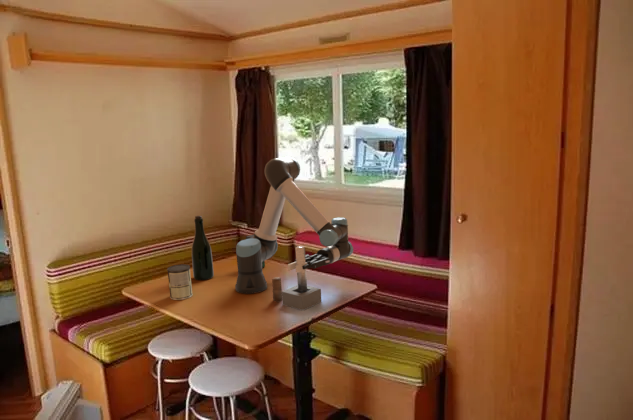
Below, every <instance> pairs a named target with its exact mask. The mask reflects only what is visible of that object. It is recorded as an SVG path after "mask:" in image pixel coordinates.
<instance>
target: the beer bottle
mask: <svg viewBox="0 0 633 420" xmlns="http://www.w3.org/2000/svg"><path fill="white" fill-rule="evenodd" d="M193 223H194V237H193V241H192V244H191V260H192V261H191V262H192V264H191V265H192V276H193V279H194V280H196V281H207V280H211V279H213V277H214V276H215V275H214V274H215V273H214V261H213V254H212V252H213V251H212V247H211V244H210V242H209V240H208V237H207V235H206V232H205V227H204V218H203V217H202V215H195V216H194V221H193Z"/></svg>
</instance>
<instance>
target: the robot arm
mask: <svg viewBox="0 0 633 420" xmlns="http://www.w3.org/2000/svg"><path fill="white" fill-rule="evenodd" d="M300 173H301V166H300V164H299V162H298V161H297V159H295V157H292V156H287V155H286V156H281V157H277V158H272V159H270V160H269V161H267V163H266V164H265V167H264V176H265V179H266V180H267V182H268V183H269V185H270V187H269V192H268V195H267V198H266V202H265V206H264V210H263V213H262V216H261V221H260V224H259V227H258V229H256V230H255V231H254V234H253V235H254V236H253V238H250V239H246V238H245V239H241V240H240V241H239V242H237V244H236V247H235V248H236V250H235V254H236V262H237V263H236V264H237V277H236V283H235V285H234V286H235V291H236V292H237V293H239V294H245V295H246V294H247V295H248V294H249V295H250V294H257V293H261V292H264V291H265V290H267V288H268V283H267V280H266V278H265V275H264V273H263V268H262V262H263V261H265V262H266V261H267V260H268V259H271V258H273V256H274V255H275V254H276V252H277V251H278V246H279V245H278V244H279V243H278V241H277V240H278V236H277V233H276V232H277V230H278V226H279V223H280V218H281V216H282V212H283V209H284V205H285V202H286V201H288V202H289V203H290V205H291V206H292V208H294V209H295V211H296V212H297V213H298V214H299V215H300V216H301V217H302V218H303V219H304V220H305V221H306V223H307V224H308V225H309V226H310V227H311V228H312V229H313V230H314V232H315V233H316V234H317V235H318V237H319V243H320V244H321V245H322V246H324V248H320V249H319V250H317V252H316V253H315V254H313V255H309V254H308V253H307V254H305V260H306V262H305V263H303V264H300V265H296V258H295V259H294V262H291V263H288V264H287V271H289V272H290V271H293V270H295V272H296V273H297V272H300V271H303V270H305V269H306V270H308V269H310V270H311V269H313V270H314V269H317V268H321V267H323V266H328V265H330V264H333V263H335V262H337V261H340V260H342V259H346V258H348V257H350V256H352V255H353V253H354V246H353V244H352V242H351V241H349V227H348V226H349V225H348V219H347V218H345V217H334V218H331V222H330V221H329V220H328V218H326V216H325V215H324V214H323V213H322V212H321V211H320V210H319V208H318V207H317V206H315V204H314V203H313V202H312V201H311V200H310V199H309V198H308V197H307V196H306V194H305V193H304V192H303V191H302V190H301V189H300V188H299V187H298V186H297V184H296V183H295V180H296V179H297V178H298V177H299V175H300Z"/></svg>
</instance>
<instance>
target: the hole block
mask: <svg viewBox="0 0 633 420" xmlns="http://www.w3.org/2000/svg"><path fill="white" fill-rule="evenodd" d="M320 303H322V290H321V288H319V287H315V286H310V285H307V291H306V292H304V293H298V284H297V285H295V286H292V287H290V288H287V289H285V290H282V305H283V306H287V307H289V308H294V309H297V310H300V311H305V310H307V309H309V308H311V307H314V306H316V305H318V304H320Z"/></svg>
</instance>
